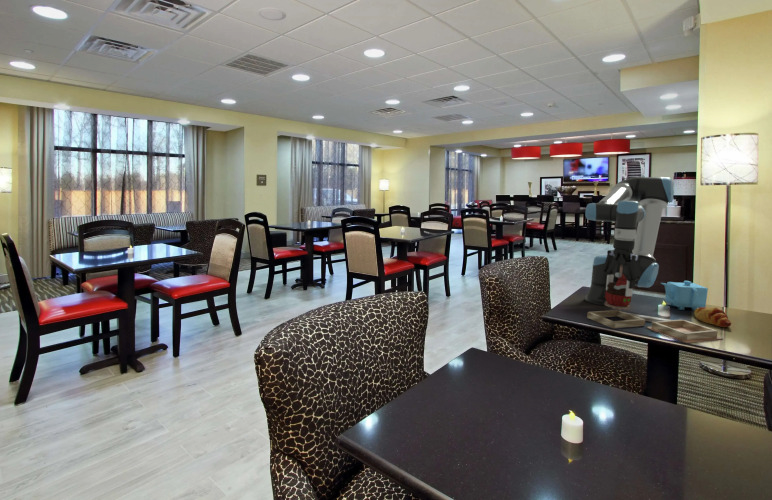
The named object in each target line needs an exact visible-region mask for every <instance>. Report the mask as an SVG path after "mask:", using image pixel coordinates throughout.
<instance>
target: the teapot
mask: <svg viewBox="0 0 772 500" xmlns="http://www.w3.org/2000/svg"><path fill="white" fill-rule="evenodd" d="M660 284H661V285H663V286H664V290H665V299H664V301H665V302H666V303H669V305H670V307H677V310H681V311H685V308H691V311H695V310H696V309H697V308H701V307H706V304H707V298H708V291H709V288H707V287H706V286H703V285H701V284H697V283H694V282H692V281H689V280H684V281H683V282H676V281H675V282H674V281H667V283H665V282H660Z"/></svg>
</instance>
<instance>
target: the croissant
mask: <svg viewBox="0 0 772 500" xmlns="http://www.w3.org/2000/svg"><path fill="white" fill-rule="evenodd" d="M693 312H694V313H693V314H694V317H695V318H696V319H697V320H699V321H701V322H703V323H705V324H709V325H713V326H716V327H721V328H727V327H728V328H729V327H730V326H731V325H732V322H731V321H730V319H729V317H728V315H727V314H726V312H725V311H724V310H723V309H721V308H718V307H706V306H705V307H701V308H697V309H696V310H693Z"/></svg>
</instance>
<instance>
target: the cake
mask: <svg viewBox="0 0 772 500" xmlns="http://www.w3.org/2000/svg"><path fill="white" fill-rule="evenodd" d="M622 269H623V265H620V272H619V273H615V276H616V277H618V280H617V282H616V284H615V283H614V282H609V284H607V287H608V288H607V291H606V293H605V298H606V302H605V303H604V304H605V305H606V307H608V308H612V309H614V310H628V309H630V308H631V305H630V304H631V303H632V296H628V297H627V296H625V294H626V285H627V278H626V277H625V276H624V275H623V274H622Z"/></svg>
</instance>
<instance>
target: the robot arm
mask: <svg viewBox="0 0 772 500" xmlns="http://www.w3.org/2000/svg"><path fill="white" fill-rule="evenodd" d="M673 182H674V181H673V179H672V178H671V177H664V176H657V177H653V176H650V177H649V176H646V177H645V176H640V177H639V176H634V177H630V178H625V179H623V180H621V181H619V182H617V183H615V184H614V185H613V186H612V188H611V189H610V192H609V193H608V194H606V195H605V196H604V197H603V198H602V199H601V200H599V202H597V203H595V202H592V203H588V204H587V205H586V207H585V218H586V219H587V220H589V221H594V222H597V221H598V222H609V223H610V222H612V223H615V225H614V235H613V237H614V239H613V244H612V245H613V246H612V248H613V249H607V253H606V254H604V255H603V254H602V255H597V256H595V257H594V259H593V263H592V270H591V271H592V272H591V282H590V287H588V288H589V289H588V292H587V293H586V295H585V301H586V302H587V303H590V304H593V305H598V306H606V305H605V304H604V303H605V302H606V298H605V293H606V291H607V288H608V287H607V284H609V282H614V283H615V284H616V282H617V280H618V277H616V276H615V273H619V272H620V265H623V269H622V274H623V275H624V276H625V277H626V278H627V285H626V294H625V296H627V297H628V296H631V297H633V294H634V292H633V291H634V289H635V287H638V288H650V287H652V286H653V285H654V283H655V281H656V279H657V277H658V274H659V268H660V265H659V263H657V260H656V258H655V257H654V252H655V248H656V245H657V239H658V233H659V228H660V223H661V219H662V216H663V215H662V214H663V210H664V209H665V208H668V204H669V203H672V202H673V200H674V183H673ZM606 307H607V306H606Z"/></svg>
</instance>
